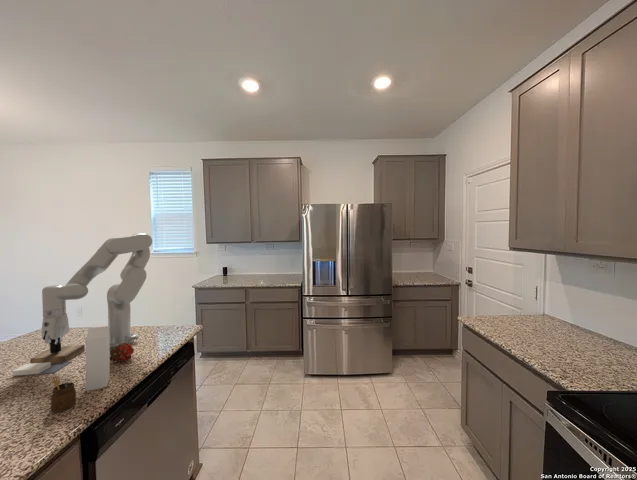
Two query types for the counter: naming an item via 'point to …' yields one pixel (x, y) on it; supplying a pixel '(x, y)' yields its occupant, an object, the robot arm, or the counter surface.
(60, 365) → the mat
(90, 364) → the milk
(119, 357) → the dragon fruit
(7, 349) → the counter surface
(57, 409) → the utensil holder
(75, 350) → the brown square plate
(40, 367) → the white rectangular block
